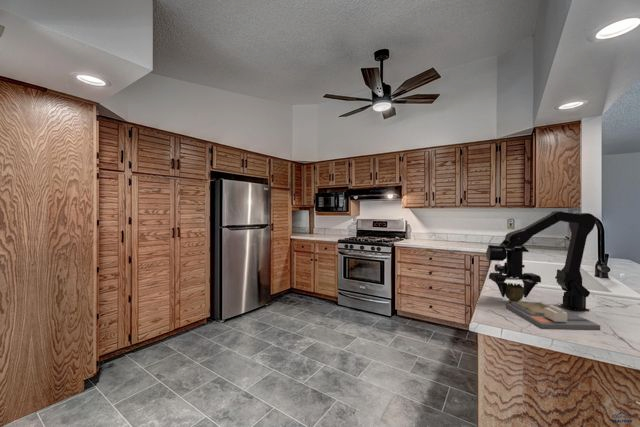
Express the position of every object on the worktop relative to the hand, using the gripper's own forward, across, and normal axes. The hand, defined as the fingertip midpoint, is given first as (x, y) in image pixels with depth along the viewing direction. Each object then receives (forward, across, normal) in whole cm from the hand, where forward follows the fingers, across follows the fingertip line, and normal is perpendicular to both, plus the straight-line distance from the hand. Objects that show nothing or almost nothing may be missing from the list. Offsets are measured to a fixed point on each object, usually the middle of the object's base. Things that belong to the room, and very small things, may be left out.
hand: (514, 297), depth 119 cm
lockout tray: (+1, -1, +12) cm, 12 cm away
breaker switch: (+1, -1, +21) cm, 22 cm away
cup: (+3, 0, 0) cm, 3 cm away
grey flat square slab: (+3, -3, +16) cm, 16 cm away
